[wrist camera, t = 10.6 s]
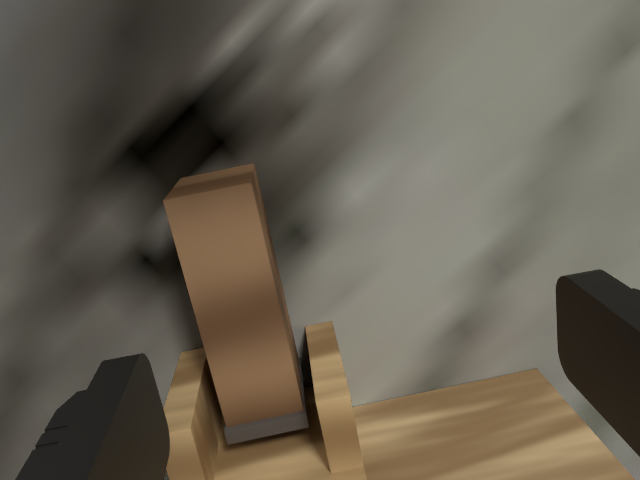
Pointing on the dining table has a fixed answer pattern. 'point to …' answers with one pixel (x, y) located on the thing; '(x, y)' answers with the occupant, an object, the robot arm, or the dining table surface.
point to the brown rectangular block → (238, 301)
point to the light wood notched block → (389, 431)
